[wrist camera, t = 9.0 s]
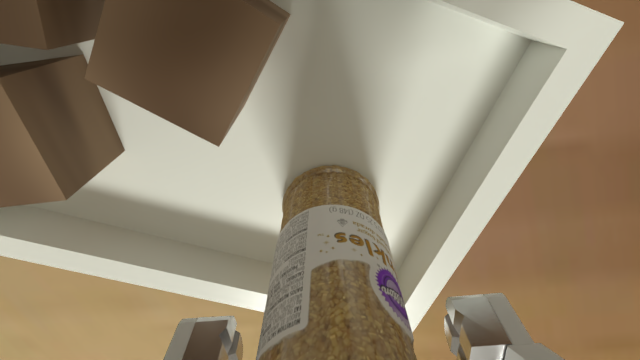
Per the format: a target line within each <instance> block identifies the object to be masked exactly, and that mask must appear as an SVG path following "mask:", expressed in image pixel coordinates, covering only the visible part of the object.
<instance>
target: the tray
mask: <svg viewBox="0 0 640 360" xmlns="http://www.w3.org/2000/svg"><path fill="white" fill-rule="evenodd" d="M270 1H271V2H273V3H274V4H276V5H277V6H279V7H280V8H282V9H283V10H285V11H287V12H288V13H290V14H291V15H290V17H289V19H288V21H287V23H286V25H285V27H284V29H283V31H282V33H281V35H280V37H279V39H278V41H277V43H276V45H275V46H274V48H273V50H272V52H271V54H270V56H269V58H268V60H267V62H266V64H265V66H264V68H263V70H262V72H261V74H260V76H259V78H258V80H257V82H256V84H255V86H254V88H253V90H252V92H251V94H250V96H249V98H248V100H247V102H246V104H245V106H244V108H243V109H242V111H241V112H240V114H239V116H238V117H237V119H236V120H235V122H234V124H233V125H232V127H231V128H230V130H229V132H228V133H227V135H226V136H225V138H224V140H223V141H222V143H221V144H220V146H219V147H218V146H216V145H214V144H212V143H210V142H208V141H206V140H204V139H202V138H200V137H198V136H196V135H194V134H192V133H190V132H188V131H186V130H185V129H183V128H181V127H179V126H177V125H175V124H173V123H171V122H169V121H167V120H165V119H163V118H161V117H159V116H157V115H155V114H153V113H151V112H149V111H147V110H145V109H143V108H141V107H139V106H137V105H135V104H133V103H131V102H130V101H128V100H126V99H124V98H122V97H120V96H118V95H116V94H114V93H112V92H110V91H108V90H106V89H104V88H102V87H100V86H98V85H97V87H98V89H99V91H100V94H101V96H102V98H103V101H104V103H105V105H106V108H107V110H108V112H109V114H110V117H111V119H112V121H113V124H114V126H115V128H116V131H117V133H118V135H119V138H120V140H121V142H122V145H123V147H124V149H125V151H124V152H123V153H122V154H121V155H119V156H118V157H117V158H116V159H115V160H114V161H112V162H111V163H110V164H109V165H108V166H106V167H105V168H104V169H103V170H102V171H100V172H99V173H98V174H97V175H96V176H95V177H93V178H92V179H91V180H90V181H89V182H87V183H86V184H85V185H84V186H83V187H82V188H80V189H79V190H78V191H77V192H76V193H74V194H73V195H72V196H71V197H70V198H68V199H67V200H64V201H55V202H46V203H37V204H28V205H19V206H10V207H1V208H0V256H5V257H10V258H14V259H19V260H24V261H28V262H33V263H38V264H42V265H47V266H52V267H56V268H61V269H66V270H70V271H75V272H80V273H84V274H89V275H94V276H98V277H103V278H108V279H112V280H117V281H122V282H126V283H131V284H136V285H140V286H145V287H150V288H154V289H159V290H164V291H168V292H173V293H178V294H182V295H187V296H192V297H196V298H201V299H206V300H210V301H215V302H220V303H224V304H229V305H234V306H238V307H243V308H248V309H252V310H257V311H261V312H265V306H266V301H267V294H268V288H269V282H270V277H271V271H272V265H273V260H274V254H275V249H276V244H277V240H278V237H279V234H280V230H281V223H282V218H283V212H282V202H283V197H284V194H285V192H286V190H287V188H288V187H289V186H290V184H291V183H292V182H293V180H294V179H295V178H296V177H298V176H299V175H301V174H303V173H304V172H306V171H309V170H311V169H313V168H317V167H320V166H332V165H337V166H341V167H346V168H349V169H352V170H355V171H357V172H359V173H360V174H361V175H362V176H364V177H366V178H367V179H368V180H369V182H370V183H371V184H372V185H373V187H374V189H375V191H376V194H377V196H378V200H379V206H380V212H379V213H380V217H381V222H382V226H383V229H384V232H385V234H386V237H387V239H388V242H389V246H390V250H391V254H392V257H393V261H394V265H395V269H396V273H397V277H398V281H399V285H400V289H401V293H402V297H403V300H404V304H405V308H406V312H407V315H408V319H409V323H410V327H411V330H412V332H413V331H414V329H415V328H416V326H417V325H418V324H419V322H420V321H421V319H422V318H423V316H424V315H425V313H426V312H427V310H428V309H429V308H430V306H431V305H432V303H433V302H434V300H435V299H436V297H437V296H438V294H439V293H440V291H441V290H442V289H443V287H444V286H445V284H446V283H447V281H448V280H449V278H450V277H451V275H452V274H453V272H454V271H455V270H456V268H457V267H458V265H459V264H460V262H461V261H462V259H463V258H464V256H465V255H466V253H467V252H468V251H469V249H470V248H471V246H472V245H473V243H474V242H475V240H476V239H477V237H478V236H479V234H480V233H481V232H482V230H483V229H484V227H485V226H486V224H487V223H488V221H489V220H490V218H491V217H492V215H493V214H494V213H495V211H496V210H497V208H498V207H499V205H500V204H501V202H502V201H503V199H504V198H505V196H506V195H507V194H508V192H509V191H510V189H511V188H512V186H513V185H514V183H515V182H516V180H517V179H518V177H519V176H520V175H521V173H522V172H523V170H524V169H525V167H526V166H527V164H528V163H529V161H530V160H531V158H532V157H533V156H534V154H535V153H536V151H537V150H538V148H539V147H540V145H541V144H542V142H543V141H544V139H545V138H546V137H547V135H548V134H549V132H550V131H551V129H552V128H553V126H554V125H555V123H556V122H557V120H558V119H559V118H560V116H561V115H562V113H563V112H564V110H565V109H566V107H567V106H568V104H569V103H570V101H571V100H572V99H573V97H574V96H575V94H576V93H577V91H578V90H579V88H580V87H581V85H582V84H583V82H584V81H585V80H586V78H587V77H588V75H589V74H590V72H591V71H592V69H593V68H594V66H595V65H596V63H597V62H598V61H599V59H600V58H601V56H602V55H603V53H604V52H605V50H606V49H607V47H608V46H609V44H610V43H611V42H612V40H613V39H614V37H615V36H616V34H617V33H618V31H619V30H620V28H621V27H622V25H623V24H624V22H621V21H619V20H617V19H614V18H612V17H609V16H607V15H605V14H602V13H600V12H597V11H595V10H592V9H590V8H588V7H585V6H583V5H580V4H578V3H575V2H573V1H571V0H270ZM94 40H95V39H94ZM94 40H90V41H85V42H81V43H76V44H72V45H68V46H63V47H59V48H55V49H50V50H43V49H36V48H29V47H22V46H15V45H8V44H0V66H1V65H8V64H16V63H23V62H31V61H38V60H45V59H53V58H60V57H67V56H75V55H82V54H84V57H85V59H86V61H87V64H88V63H89V59H90V55H91V51H92V48H93V44H94Z"/></svg>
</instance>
